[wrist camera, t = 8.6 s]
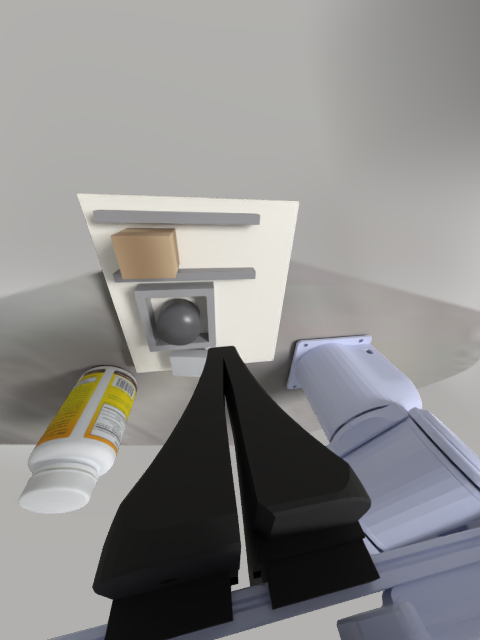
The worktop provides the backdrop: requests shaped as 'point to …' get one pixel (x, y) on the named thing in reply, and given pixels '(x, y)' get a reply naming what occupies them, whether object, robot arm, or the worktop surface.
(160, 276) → the tan block
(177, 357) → the grey rocker switch
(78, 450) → the supplement bottle
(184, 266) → the switch board
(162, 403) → the worktop surface
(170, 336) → the black push button
